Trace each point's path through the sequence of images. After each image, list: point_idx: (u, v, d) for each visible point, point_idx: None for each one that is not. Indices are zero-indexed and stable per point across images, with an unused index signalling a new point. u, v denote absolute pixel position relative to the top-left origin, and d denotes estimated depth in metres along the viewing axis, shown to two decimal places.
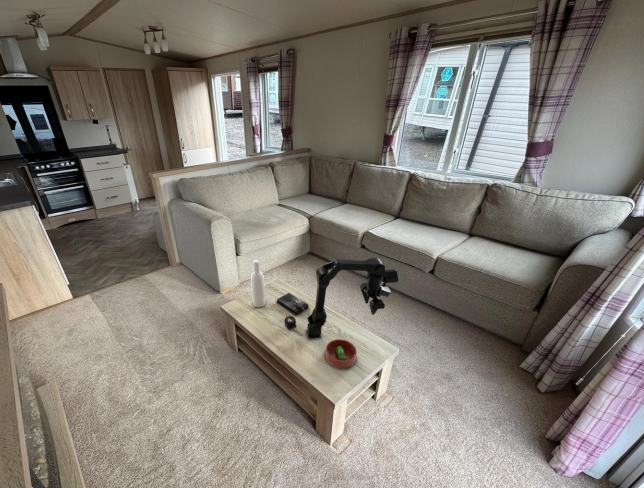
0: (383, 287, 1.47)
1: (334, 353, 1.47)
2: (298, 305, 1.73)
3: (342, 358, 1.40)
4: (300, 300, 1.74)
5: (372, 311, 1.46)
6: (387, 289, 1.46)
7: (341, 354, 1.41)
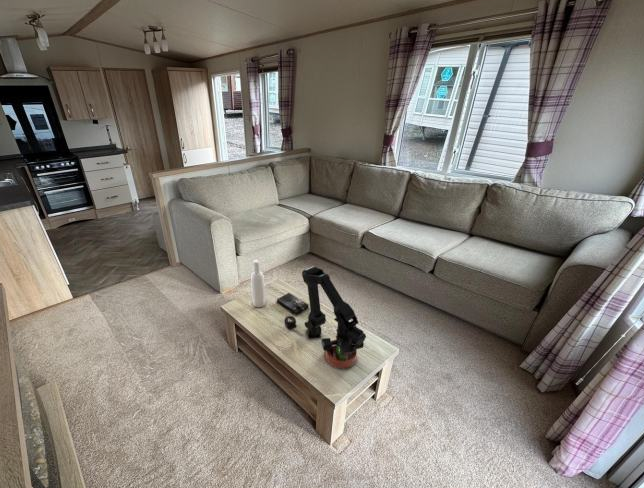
0: (347, 345, 1.33)
1: (334, 353, 1.47)
2: (298, 305, 1.73)
3: (342, 358, 1.40)
4: (300, 300, 1.74)
5: None
6: (346, 349, 1.32)
7: None
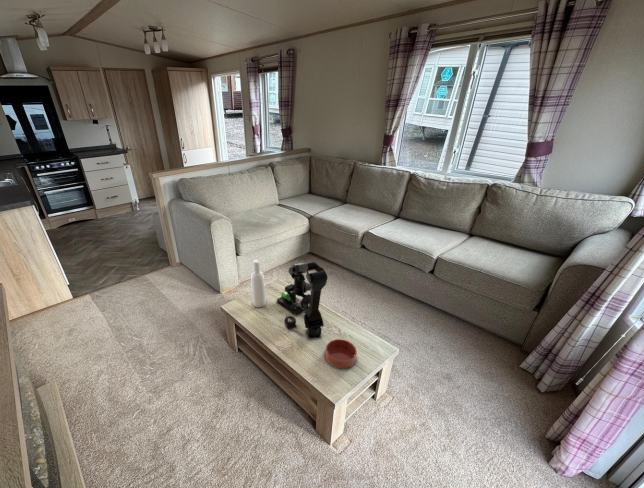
0: (305, 284, 1.73)
1: (334, 353, 1.47)
2: (298, 305, 1.73)
3: None
4: (300, 300, 1.74)
5: (303, 305, 1.70)
6: (308, 284, 1.73)
7: (288, 295, 1.79)
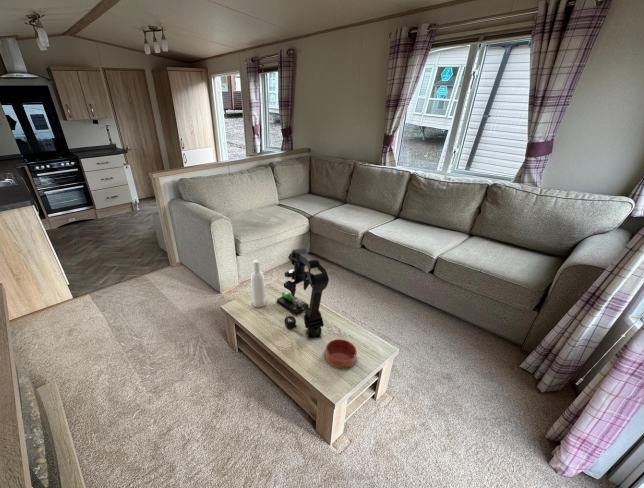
0: (291, 271, 1.68)
1: (334, 353, 1.47)
2: None
3: (292, 297, 1.78)
4: (298, 299, 1.75)
5: None
6: (290, 270, 1.70)
7: (289, 295, 1.80)
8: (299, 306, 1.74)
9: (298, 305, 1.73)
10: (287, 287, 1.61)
